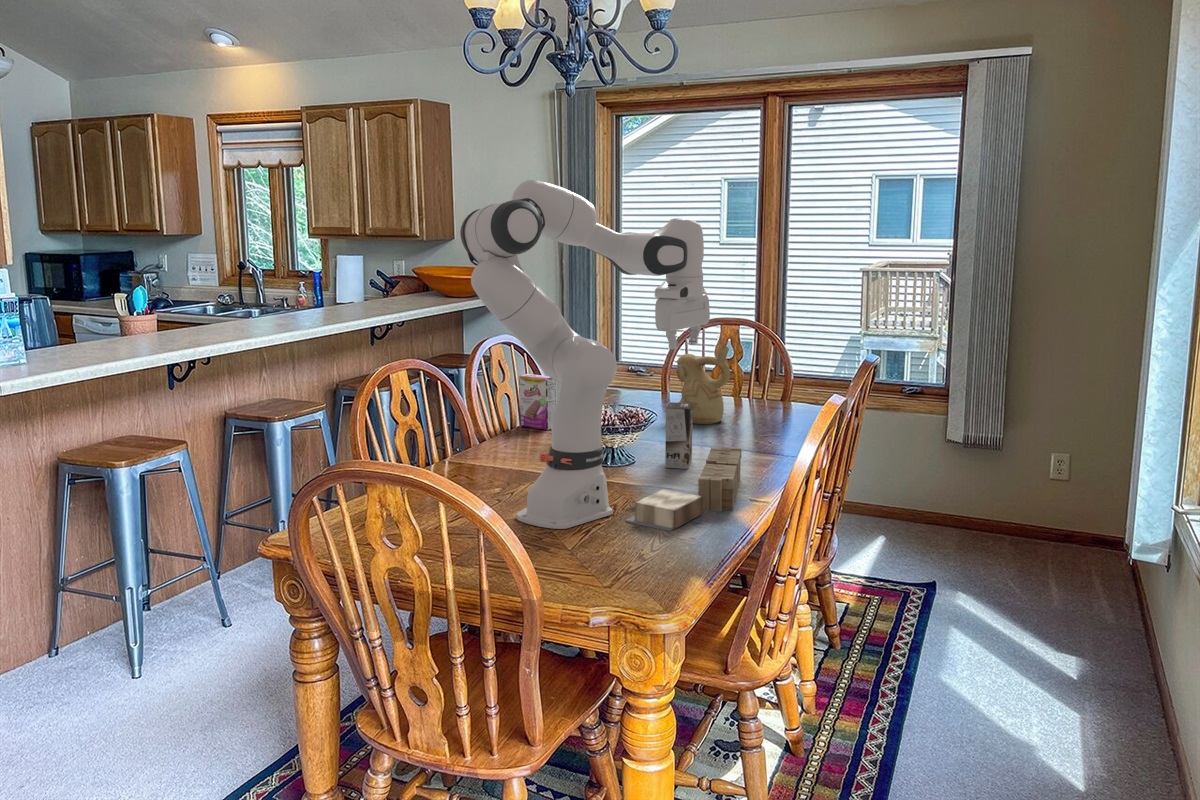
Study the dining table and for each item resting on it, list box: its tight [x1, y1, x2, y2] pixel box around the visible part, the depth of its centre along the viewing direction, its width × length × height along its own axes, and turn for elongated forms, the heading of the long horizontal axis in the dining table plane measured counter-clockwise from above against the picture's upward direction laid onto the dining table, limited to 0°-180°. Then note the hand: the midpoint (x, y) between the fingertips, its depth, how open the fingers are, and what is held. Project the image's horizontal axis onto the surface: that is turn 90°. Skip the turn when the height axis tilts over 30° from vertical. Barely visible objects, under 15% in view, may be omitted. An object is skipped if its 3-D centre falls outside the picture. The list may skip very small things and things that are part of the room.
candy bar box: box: [518, 373, 557, 431], centre depth 289 cm, size 11×5×16 cm, turn 58°
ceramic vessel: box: [675, 345, 731, 425], centre depth 297 cm, size 17×20×25 cm
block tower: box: [697, 446, 742, 512], centre depth 220 cm, size 8×8×29 cm
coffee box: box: [664, 401, 693, 470], centre depth 245 cm, size 9×6×16 cm
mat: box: [625, 515, 674, 532], centre depth 202 cm, size 14×11×1 cm
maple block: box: [634, 488, 704, 530], centre depth 201 cm, size 12×4×10 cm
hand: (683, 346), depth 221 cm, fingers open, 8 cm apart
